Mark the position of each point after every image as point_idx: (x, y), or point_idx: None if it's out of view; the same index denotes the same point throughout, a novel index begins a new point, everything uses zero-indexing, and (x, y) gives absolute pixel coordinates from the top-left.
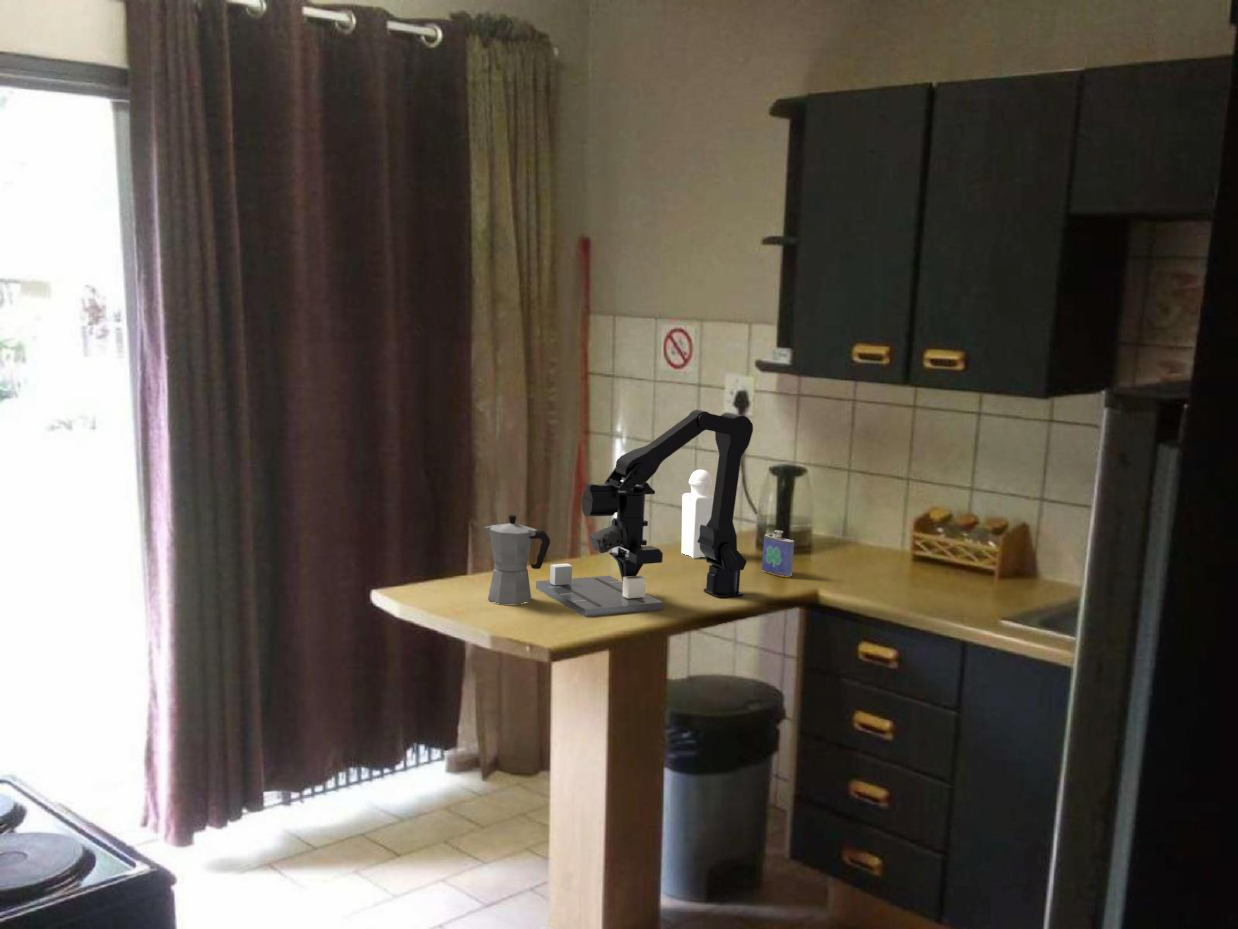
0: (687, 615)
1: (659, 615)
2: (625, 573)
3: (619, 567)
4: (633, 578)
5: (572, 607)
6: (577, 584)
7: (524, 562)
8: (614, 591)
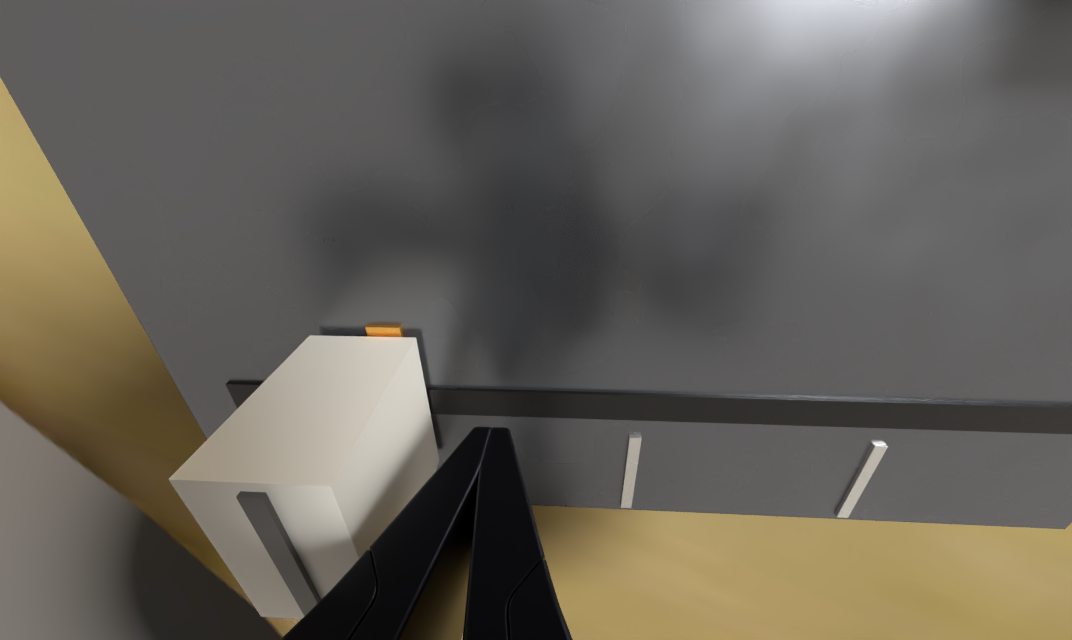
0: (151, 494)
1: (121, 381)
2: (372, 558)
3: (543, 621)
4: (239, 538)
5: None
6: None
7: None
8: (600, 350)
